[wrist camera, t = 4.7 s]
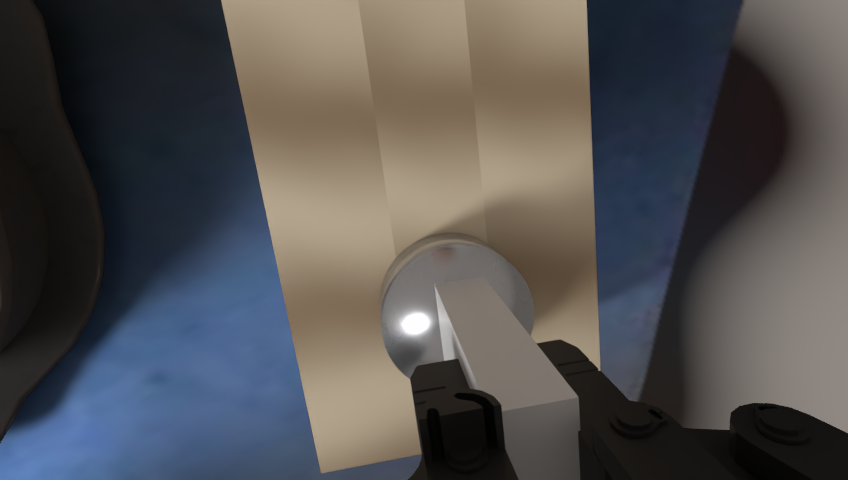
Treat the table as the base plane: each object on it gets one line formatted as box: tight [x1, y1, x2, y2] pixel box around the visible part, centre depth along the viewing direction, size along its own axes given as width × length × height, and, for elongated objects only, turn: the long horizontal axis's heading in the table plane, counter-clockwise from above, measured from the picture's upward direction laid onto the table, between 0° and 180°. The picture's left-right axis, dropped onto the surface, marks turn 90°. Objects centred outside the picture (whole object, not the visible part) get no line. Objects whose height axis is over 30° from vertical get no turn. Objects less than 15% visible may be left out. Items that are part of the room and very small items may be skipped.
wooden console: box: [221, 0, 600, 473], centre depth 19 cm, size 24×11×8 cm, turn 7°
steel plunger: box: [379, 233, 534, 379], centre depth 19 cm, size 5×5×10 cm
